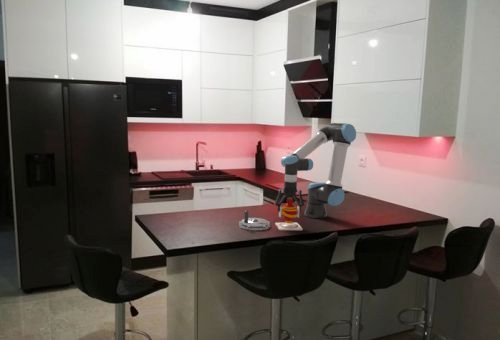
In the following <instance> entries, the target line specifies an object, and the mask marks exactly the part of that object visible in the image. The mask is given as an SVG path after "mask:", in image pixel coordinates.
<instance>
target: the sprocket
mask: <svg viewBox="0 0 500 340" xmlns="http://www.w3.org/2000/svg"><path fill="white" fill-rule="evenodd" d="M243 217H244V218H243V219H241V221H239V222H238V225H239V224H242V225H243V226H246V227H251V228H261V227H266V226H267V225H268V224H269V225H270V221H268V220H267V219H265V218H261V217H249V210H244V215H243Z"/></svg>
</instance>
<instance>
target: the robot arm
mask: <svg viewBox="0 0 500 340" xmlns="http://www.w3.org/2000/svg"><path fill="white" fill-rule="evenodd" d="M356 138H357V130H356V128H355V126H354V125H352V124H350V123H346V122H345V123H344V122H343V123H337V122H332V123H329V124H326V125H325V126H323V127H321V128H320V129H319V130H318V131H316V133H315V135H313V136H312V137H311V138H310V139H309V140H307V141H306V142H305V143H303V144H302V145H301V146H300V147H298V148H297V149H296V150H294V151H293V152H292V153H291V154H289V155H284V156H282V157H281V160H280V164H281V166H282V167H284V182H283V183H284V184H283V185H284V186H283V189H281V188H280V189H278V194H277V196H276V200H275V203H274V205H275V206H277V212H278V218H282V213H281V210H282V204H283V203H284V202H285V201H286V199H287V198H293V199H294V200H295V202H296V204H297V206H296V208H297V216H296V218H300V213H302V212H301V211H302V207H304V206H305V203H304V199H303V194H302V192H303V191H302V190H301V189H297V185H298V183H297V181H298V172H305V171H306V172H308V171H312V169H313V168H314V161H313V160H312V159H311V158H307V157H308V156H309V155H310V154H312V153H313V152H314V151H316V150H317V149H318V148H319V147H320V146H321V145H323V144H326V143H328V142H330V141H332V144H333V145H334V146H333V150H332V155H331V162H330V167H329V172H328V178H327V181H325V182H311V183H309V184H308V189H307V205H306V208H305V210H304V216H305V217H307V218H310V219H325V218H327V215H328V214H327V209H326V207H325V205H326V204H327V205H329V206H335V207H336V206H340V204H342V203H343V201H344V199H345V196H346V195H345V190H344V189H343V185H342V178H343V172H344V168H345V162H346V157H347V152H348V148H349V147H350V146H351V143H353V142H354V141H355V140H356ZM283 193H284V194H283ZM282 194H283V196H282ZM297 194H298V197H299V199H298V197H297ZM281 196H282V197H281Z"/></svg>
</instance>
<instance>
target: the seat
mask: <svg viewBox="0 0 500 340" xmlns="http://www.w3.org/2000/svg"><path fill="white" fill-rule="evenodd" d="M275 226H276V227H277V229H278V230H279V231H303V228H302V226H301V225H300V224H299V223H298V222H293V223H285V222H275Z"/></svg>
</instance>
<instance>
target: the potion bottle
mask: <svg viewBox="0 0 500 340" xmlns="http://www.w3.org/2000/svg"><path fill="white" fill-rule="evenodd" d="M293 199H294V197H286V202H287V203H286V204H284V205H283V206H281V217H282V218H283V219H284V220H285V222H284V223H294V222H293V221H294V220H295V219H296V218H297V206H296V205H295V204H293V202H294V200H293Z"/></svg>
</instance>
